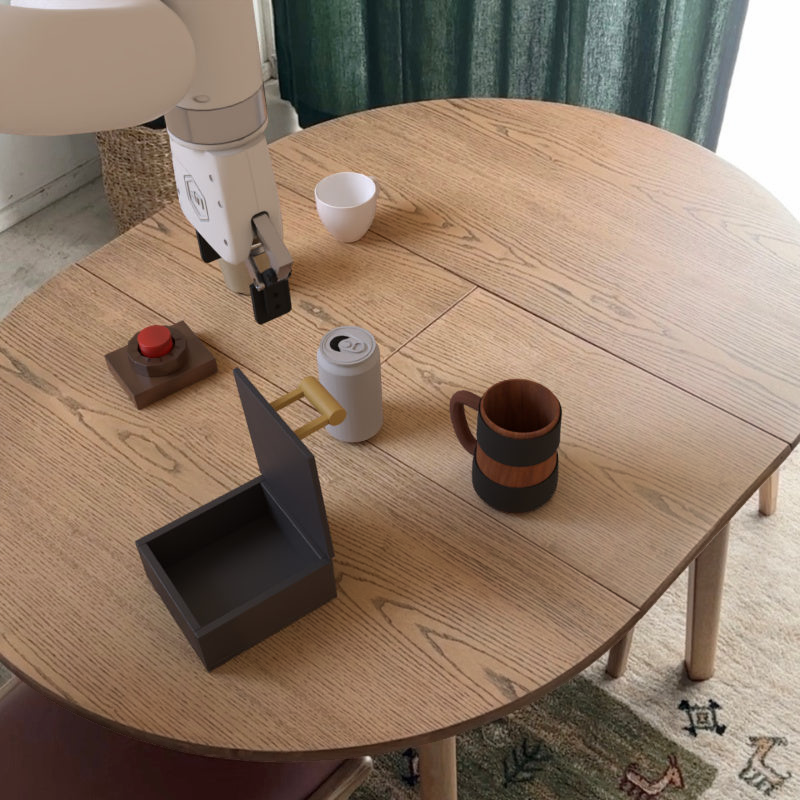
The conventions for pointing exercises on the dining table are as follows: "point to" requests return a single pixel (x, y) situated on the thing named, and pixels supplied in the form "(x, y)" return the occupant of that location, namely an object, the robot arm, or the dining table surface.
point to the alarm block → (161, 366)
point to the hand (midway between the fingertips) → (245, 285)
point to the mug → (511, 443)
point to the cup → (347, 204)
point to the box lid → (291, 450)
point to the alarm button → (155, 341)
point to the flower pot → (242, 271)
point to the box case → (236, 571)
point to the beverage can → (352, 381)
